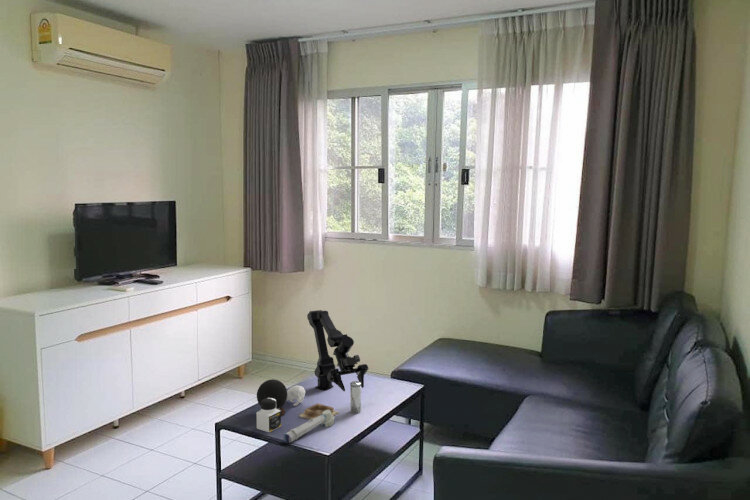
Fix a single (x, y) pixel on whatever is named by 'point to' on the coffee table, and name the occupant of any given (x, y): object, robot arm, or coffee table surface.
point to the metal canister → (355, 397)
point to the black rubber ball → (273, 393)
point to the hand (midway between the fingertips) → (353, 389)
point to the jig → (316, 411)
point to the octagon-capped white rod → (309, 426)
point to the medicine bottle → (268, 416)
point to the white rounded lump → (296, 394)
